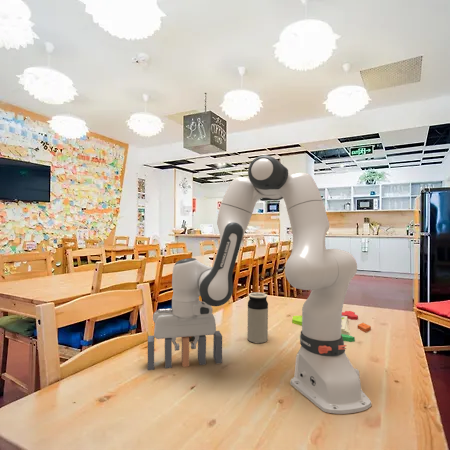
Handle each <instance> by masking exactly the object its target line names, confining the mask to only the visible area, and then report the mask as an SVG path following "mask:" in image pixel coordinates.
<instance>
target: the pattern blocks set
mask: <svg viewBox="0 0 450 450" xmlns="http://www.w3.org/2000/svg"><path fill="white" fill-rule="evenodd" d="M358 318H359V315H358V314H356V312H354V311H353V310H352V311H351V310H345V311H342V321H341V335H342V337H343V341H344V342H347V343H351V342H356V339H355V336H352V334H351V331H350V326H349V322H348V320H350V321H351V320H352V321H358V320H359V319H358ZM291 320H292V321H291V322H292V324H293V325H297V326H301V327H302V315H293V316H292V317H291ZM357 329H358V330H359V329H360V331H362V332H363V333H364V334H365V333H367V332H369V331H371V330H372V326H371V325H369V324H367V323H364V322H362V323H361V322H360V323H359V324H357Z"/></svg>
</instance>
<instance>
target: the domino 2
mask: <svg viewBox="0 0 450 450" xmlns="http://www.w3.org/2000/svg"><path fill="white" fill-rule="evenodd" d="M172 344H173V342H172V339H171V338H164V368H165V369H172V367H173V366H172V365H173V363H172V362H173V358H172V357H173V355H172V354H173V352H172V351H173V348H172Z"/></svg>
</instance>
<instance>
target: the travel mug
mask: <svg viewBox="0 0 450 450" xmlns="http://www.w3.org/2000/svg"><path fill="white" fill-rule="evenodd" d="M248 298H249V300H248V302H247V337H246V338H247V340H248V341H249V342H251V343H254V344H263V343H265V342H267V341H268V337H269V336H268V333H269V331H268V330H269V329H268V328H269V325H268V324H269V303H268V300H267V298H268V294H266V293H264V292H251V293H248Z"/></svg>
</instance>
